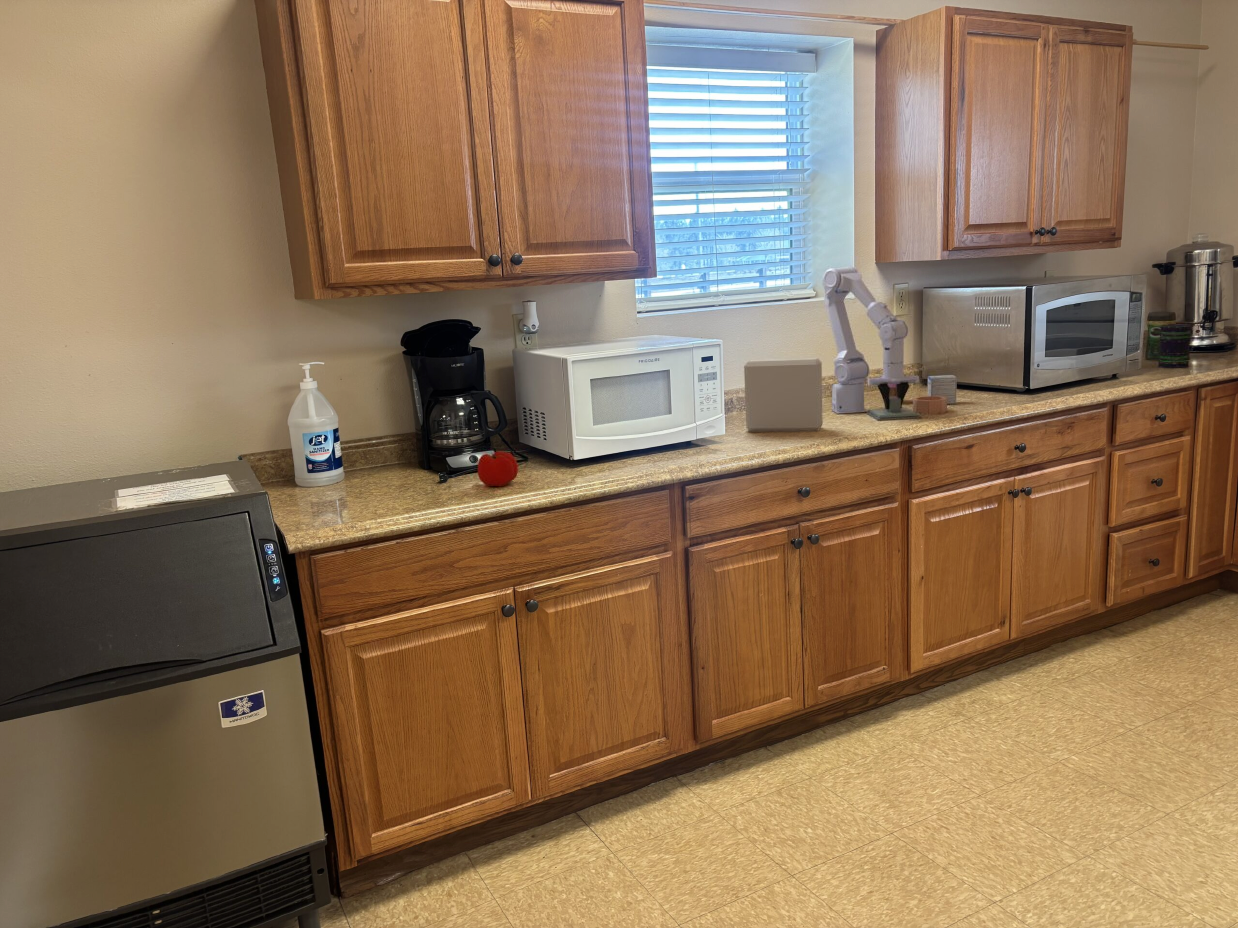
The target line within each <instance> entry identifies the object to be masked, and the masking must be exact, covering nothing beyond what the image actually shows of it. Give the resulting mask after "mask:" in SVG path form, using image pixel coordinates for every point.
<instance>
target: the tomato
mask: <svg viewBox="0 0 1238 928" xmlns="http://www.w3.org/2000/svg"><path fill="white" fill-rule="evenodd" d="M518 473H519V466H518V461H517V460H516V458H515V457H514V455H512V454H511V453H510V452H507V451H506V452H505V451H501V450H499V451H495V452H494V453H491V455H490V454H488V453H483V454H482V455H481V456H480V458H479V460H478V463H477V475H478V478H479V480H480V482H481V483H482V484H483V485H485V486H487V487H497V486H501V487H503V486H504V485H505V486H506V485H507V484H508V483H511V482H512V481H513V480H515V479H516V478H517V475H518Z"/></svg>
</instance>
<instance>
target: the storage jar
mask: <svg viewBox="0 0 1238 928" xmlns="http://www.w3.org/2000/svg"><path fill="white" fill-rule="evenodd" d="M1160 328H1161V330H1160V332H1161V333H1160V336H1161V337H1160V352H1159V357H1158V360H1157V361H1158V362H1157V363H1158V365H1157V368H1160V369H1187V368H1189V363H1190V360H1191V359H1190V358H1191V356H1190V355H1191V352H1190V344H1191V343H1190V342H1191V340H1192V338H1191V337H1192V325H1191V324H1175V325H1162V326H1160Z"/></svg>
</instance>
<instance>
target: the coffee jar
mask: <svg viewBox="0 0 1238 928" xmlns="http://www.w3.org/2000/svg"><path fill="white" fill-rule="evenodd" d="M1176 323H1177V315H1176V312H1174V311H1168V310H1167V311H1166V310H1165V311H1163V310H1161V311H1159V310H1158V311H1151V312H1148V315H1147V318H1146V326H1147V339H1146V345H1145V351H1144V352H1145V353H1144V358H1145V359H1146V360H1148V361H1149V360H1150V361H1159V360H1158V357H1159V352H1160V337H1161V336H1160V333H1161V332H1160V330H1161V328H1160V326H1162V325H1177V324H1176Z"/></svg>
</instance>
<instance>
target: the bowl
mask: <svg viewBox="0 0 1238 928" xmlns="http://www.w3.org/2000/svg"><path fill="white" fill-rule="evenodd" d="M912 410H913V411H915V412H917V413H921V414H920V415H936V414H935V413H941V414H944V413H947V411H948V404H947V398H945V397H942V396H928V395H926V396H922V395H921V396H916V397H913V398H912Z"/></svg>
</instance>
